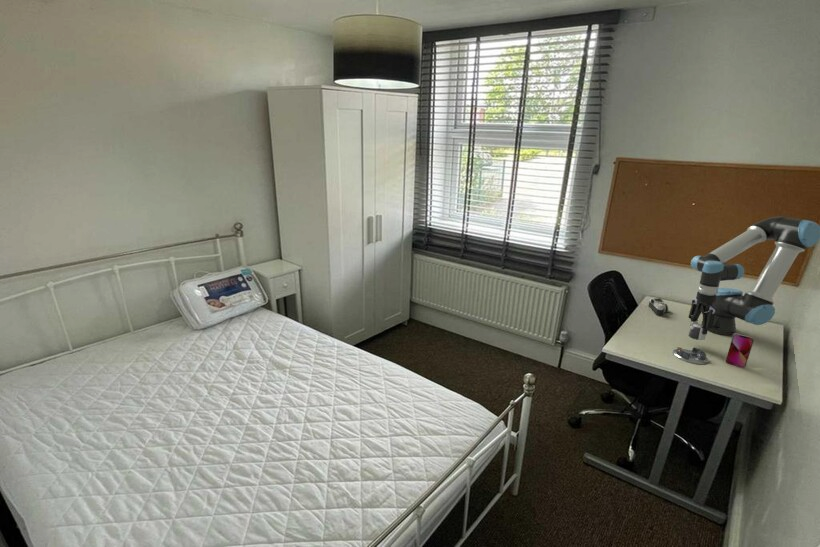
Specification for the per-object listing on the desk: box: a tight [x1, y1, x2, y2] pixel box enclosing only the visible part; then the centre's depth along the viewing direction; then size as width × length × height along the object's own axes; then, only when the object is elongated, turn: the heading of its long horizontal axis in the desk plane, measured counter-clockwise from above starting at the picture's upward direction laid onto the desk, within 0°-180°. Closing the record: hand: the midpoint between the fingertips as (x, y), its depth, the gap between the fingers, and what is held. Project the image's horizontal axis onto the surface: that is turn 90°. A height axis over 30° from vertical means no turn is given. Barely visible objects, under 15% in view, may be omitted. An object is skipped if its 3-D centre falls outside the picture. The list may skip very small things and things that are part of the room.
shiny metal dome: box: [672, 346, 709, 365], centre depth 188 cm, size 14×14×3 cm
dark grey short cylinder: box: [688, 323, 703, 341], centre depth 197 cm, size 7×6×6 cm
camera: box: [648, 297, 669, 317], centre depth 237 cm, size 16×9×10 cm, turn 168°
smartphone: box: [725, 332, 755, 368], centre depth 180 cm, size 7×1×15 cm, turn 50°
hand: (696, 336), depth 198 cm, fingers closed on dark grey short cylinder, 6 cm apart
